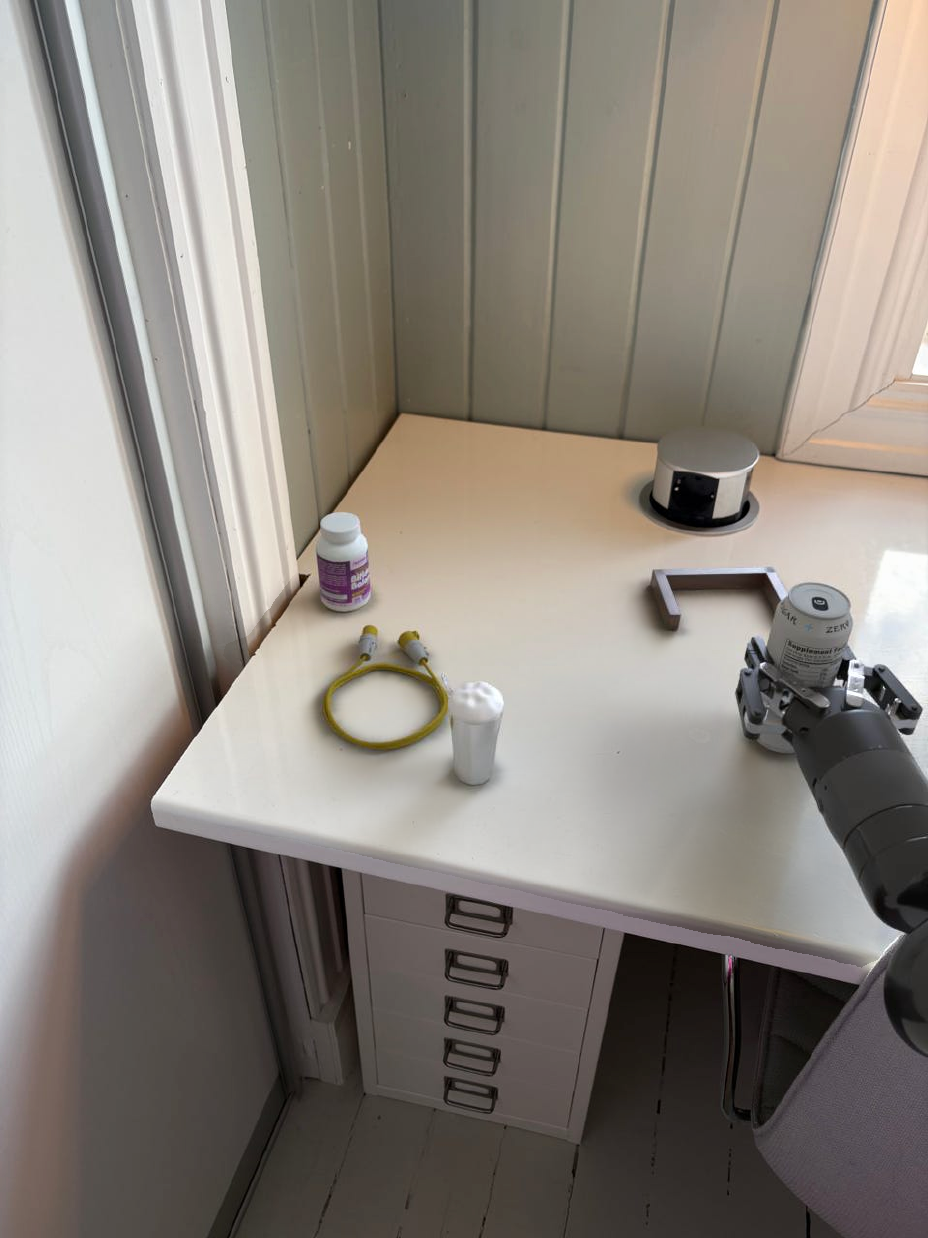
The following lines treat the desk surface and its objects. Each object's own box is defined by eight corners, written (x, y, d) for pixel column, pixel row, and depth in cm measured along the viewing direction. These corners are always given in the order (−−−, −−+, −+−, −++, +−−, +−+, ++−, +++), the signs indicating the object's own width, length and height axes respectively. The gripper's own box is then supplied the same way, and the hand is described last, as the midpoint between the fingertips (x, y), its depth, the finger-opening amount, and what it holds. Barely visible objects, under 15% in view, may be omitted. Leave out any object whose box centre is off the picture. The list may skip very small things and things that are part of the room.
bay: (650, 584, 102) (652, 569, 101) (769, 581, 103) (773, 566, 102) (666, 630, 96) (669, 615, 95) (794, 627, 96) (798, 611, 95)
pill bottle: (363, 616, 97) (358, 538, 91) (314, 610, 98) (306, 533, 92) (376, 586, 101) (372, 510, 95) (329, 581, 102) (322, 505, 96)
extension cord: (480, 659, 92) (481, 644, 91) (415, 769, 80) (415, 752, 79) (370, 630, 95) (369, 615, 94) (292, 730, 84) (290, 714, 82)
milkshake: (453, 743, 83) (454, 657, 77) (508, 762, 81) (513, 676, 75) (430, 777, 79) (428, 690, 73) (486, 798, 78) (490, 711, 71)
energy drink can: (810, 715, 86) (852, 582, 76) (818, 762, 81) (864, 626, 72) (743, 707, 86) (777, 574, 77) (747, 753, 82) (784, 617, 73)
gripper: (983, 748, 65) (883, 606, 79) (782, 755, 64) (716, 611, 78) (948, 819, 70) (860, 673, 83) (760, 826, 69) (702, 678, 82)
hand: (791, 643), depth 80 cm, fingers closed on energy drink can, 6 cm apart
